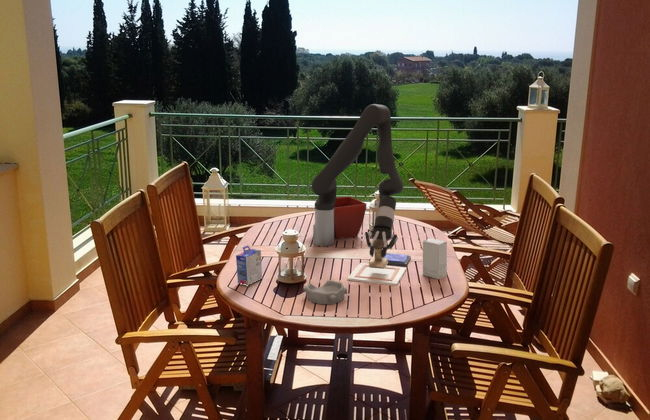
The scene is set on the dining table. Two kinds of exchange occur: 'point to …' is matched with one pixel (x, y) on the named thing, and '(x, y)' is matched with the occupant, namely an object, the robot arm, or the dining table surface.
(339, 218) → the plant pot
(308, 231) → the dining table surface
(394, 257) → the ink pad
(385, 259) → the rubber stamp
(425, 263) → the skincare box
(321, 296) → the dish
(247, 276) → the ink cartridge box
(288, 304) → the dining table surface
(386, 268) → the marked board
